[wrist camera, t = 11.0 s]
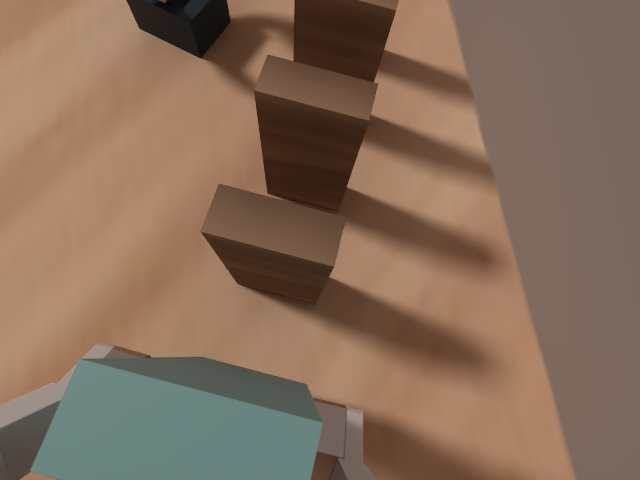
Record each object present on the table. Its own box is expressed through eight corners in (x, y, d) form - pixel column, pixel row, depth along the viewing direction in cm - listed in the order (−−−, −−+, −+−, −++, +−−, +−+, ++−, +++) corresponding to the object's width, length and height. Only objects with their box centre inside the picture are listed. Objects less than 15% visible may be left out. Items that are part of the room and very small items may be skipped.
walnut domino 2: (338, 211, 25) (368, 120, 15) (267, 192, 25) (254, 90, 15) (344, 186, 25) (378, 83, 16) (275, 168, 25) (267, 54, 16)
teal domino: (295, 431, 16) (296, 543, 6) (186, 402, 16) (30, 470, 7) (306, 384, 17) (323, 422, 7) (202, 356, 17) (78, 358, 7)
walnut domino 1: (357, 133, 27) (396, 10, 17) (292, 116, 27) (294, -17, 17) (363, 111, 27) (403, -19, 18) (299, 94, 27) (305, -45, 18)
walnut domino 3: (314, 304, 23) (334, 266, 13) (237, 283, 23) (200, 231, 13) (322, 273, 23) (346, 217, 14) (247, 254, 23) (218, 183, 14)
